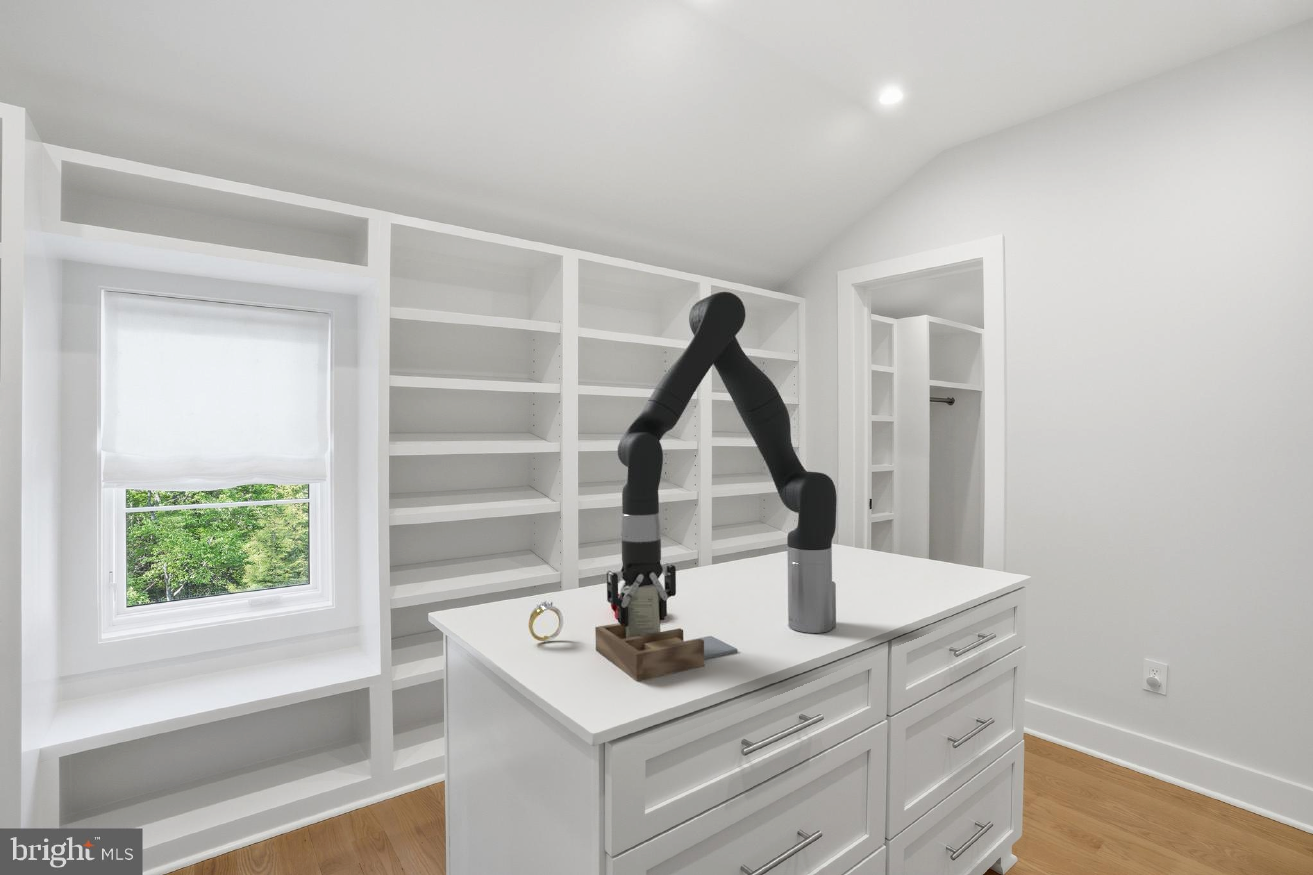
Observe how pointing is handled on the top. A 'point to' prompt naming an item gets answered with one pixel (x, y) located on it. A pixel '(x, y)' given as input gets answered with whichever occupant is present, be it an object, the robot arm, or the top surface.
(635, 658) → the walnut rack
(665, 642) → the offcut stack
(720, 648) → the slate mat
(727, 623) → the top surface
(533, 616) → the engagement ring
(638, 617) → the skincare box
